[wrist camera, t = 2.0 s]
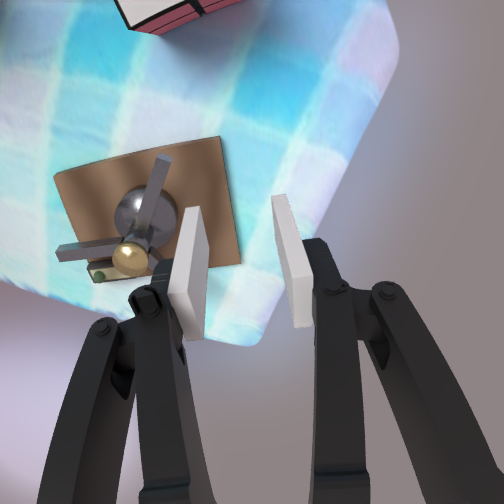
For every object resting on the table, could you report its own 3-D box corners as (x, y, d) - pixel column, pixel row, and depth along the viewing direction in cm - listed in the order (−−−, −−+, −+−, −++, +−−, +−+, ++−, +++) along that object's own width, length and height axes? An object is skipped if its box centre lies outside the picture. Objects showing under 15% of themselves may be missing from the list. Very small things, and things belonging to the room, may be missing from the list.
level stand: (100, 276, 42) (92, 295, 39) (57, 172, 33) (42, 186, 30) (240, 257, 42) (241, 277, 39) (219, 135, 32) (218, 146, 29)
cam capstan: (201, 279, 42) (197, 324, 35) (70, 234, 36) (46, 274, 30) (253, 173, 34) (259, 208, 27) (94, 116, 28) (61, 138, 22)
